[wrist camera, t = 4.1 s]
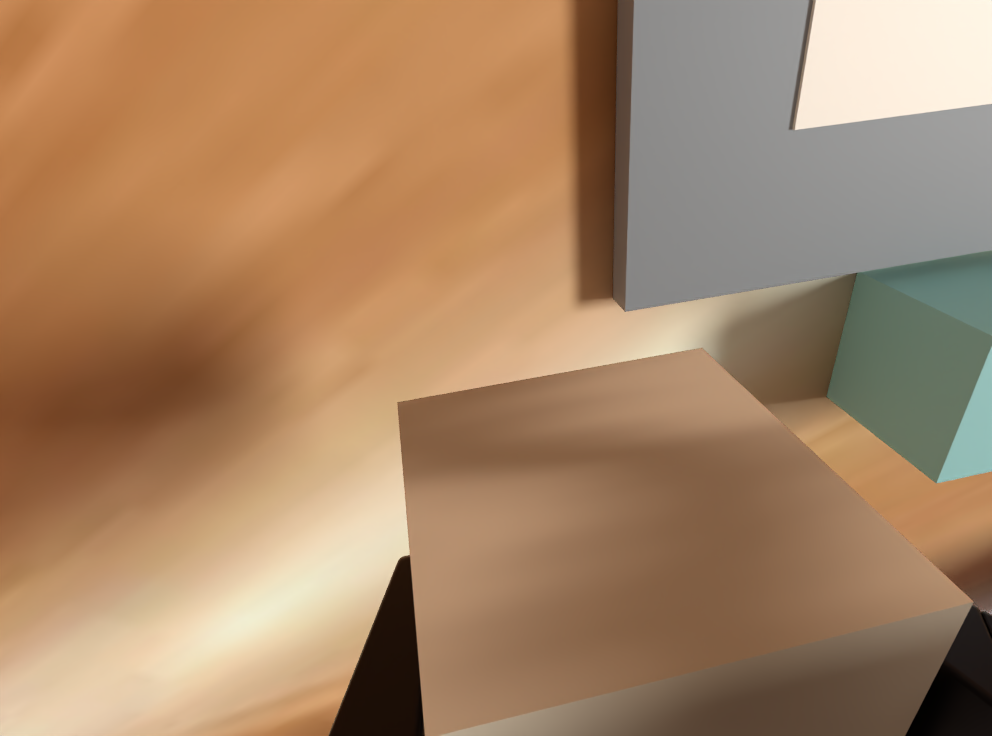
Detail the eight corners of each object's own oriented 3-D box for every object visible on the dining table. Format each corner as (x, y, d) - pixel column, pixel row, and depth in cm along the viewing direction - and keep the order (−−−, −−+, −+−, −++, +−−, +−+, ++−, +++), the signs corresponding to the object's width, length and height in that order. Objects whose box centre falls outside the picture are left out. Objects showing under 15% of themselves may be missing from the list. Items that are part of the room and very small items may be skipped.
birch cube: (441, 610, 11) (485, 951, 7) (397, 402, 9) (426, 738, 5) (679, 557, 12) (850, 842, 8) (702, 347, 10) (973, 602, 5)
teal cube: (825, 395, 22) (936, 483, 18) (856, 270, 19) (995, 337, 15) (942, 373, 22) (1078, 452, 18) (987, 248, 20) (1157, 307, 16)
